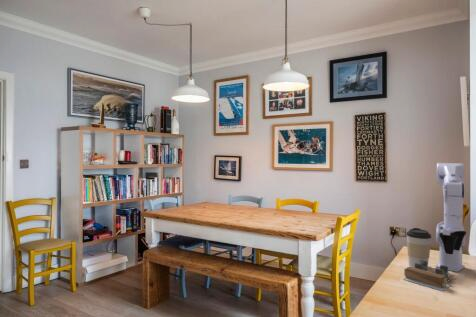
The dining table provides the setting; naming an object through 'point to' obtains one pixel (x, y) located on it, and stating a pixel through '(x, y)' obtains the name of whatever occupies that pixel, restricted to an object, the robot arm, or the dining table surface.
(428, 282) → the rail
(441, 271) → the stand
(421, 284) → the mat
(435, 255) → the dining table surface
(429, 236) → the coffee cup
